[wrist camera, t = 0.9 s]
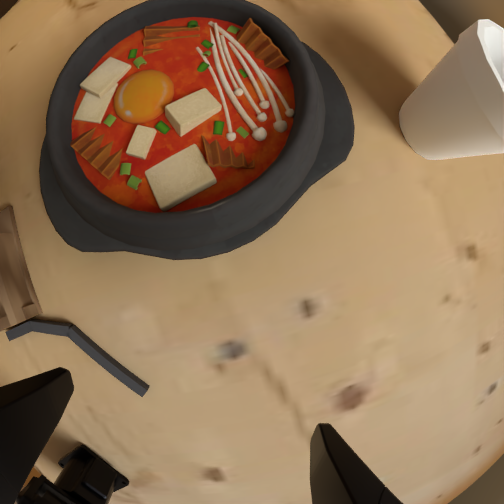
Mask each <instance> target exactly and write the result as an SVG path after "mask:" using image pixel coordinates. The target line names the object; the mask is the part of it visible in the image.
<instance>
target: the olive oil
mask: <svg viewBox="0 0 504 504" xmlns="http://www.w3.org/2000/svg"><path fill="white" fill-rule="evenodd" d="M16 1H17V0H0V18H1V17H2V16H3V15H4V14H5V13H6V12H7V11H8V10H9V9H10V8H11V7H12V6H13V5H14V4H15V3H16Z"/></svg>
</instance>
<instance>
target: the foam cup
mask: <svg viewBox="0 0 504 504" xmlns="http://www.w3.org/2000/svg"><path fill="white" fill-rule="evenodd" d="M399 122H400V128H401V130H402V133H403V135H404V137H405V140H406V141H407V143H408V144H409V145H410V146H411V147H412V149H413V150H414V151H415V152H416V153H417V154H419V155H421V156H422V157H424V158H426V159H427V160H439V159H450V158H459V157H468V156H477V155H487V154H499V153H504V29H503V28H502V27H500V26H499V25H497V24H496V23H494V22H492V21H491V20H489V19H486V20H478V21H476V22H475V23H474V24H473V25H471V26H470V27H469V28H467V29H466V30H465V31H464V32H462V33H461V34H460V35H459V39H458V41H457V43H456V44H455V45H454V46H453V47H452V48H451V49H450V51H449V52H448V53H447V54H446V55H445V56H444V57H443V59H442V60H441V61H440V62H439V63H438V64H437V65H436V67H435V68H434V69H433V70H432V71H431V72H430V73H429V74H428V76H427V77H426V78H425V79H424V80H423V81H422V82H421V83H420V85H419V86H418V87H417V88H416V89H415V90H414V91H413V92H412V94H411V95H410V96H409V97H408V98H407V99H406V101H405V102H404V103H403V105H402V107H401V109H400V111H399Z"/></svg>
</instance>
